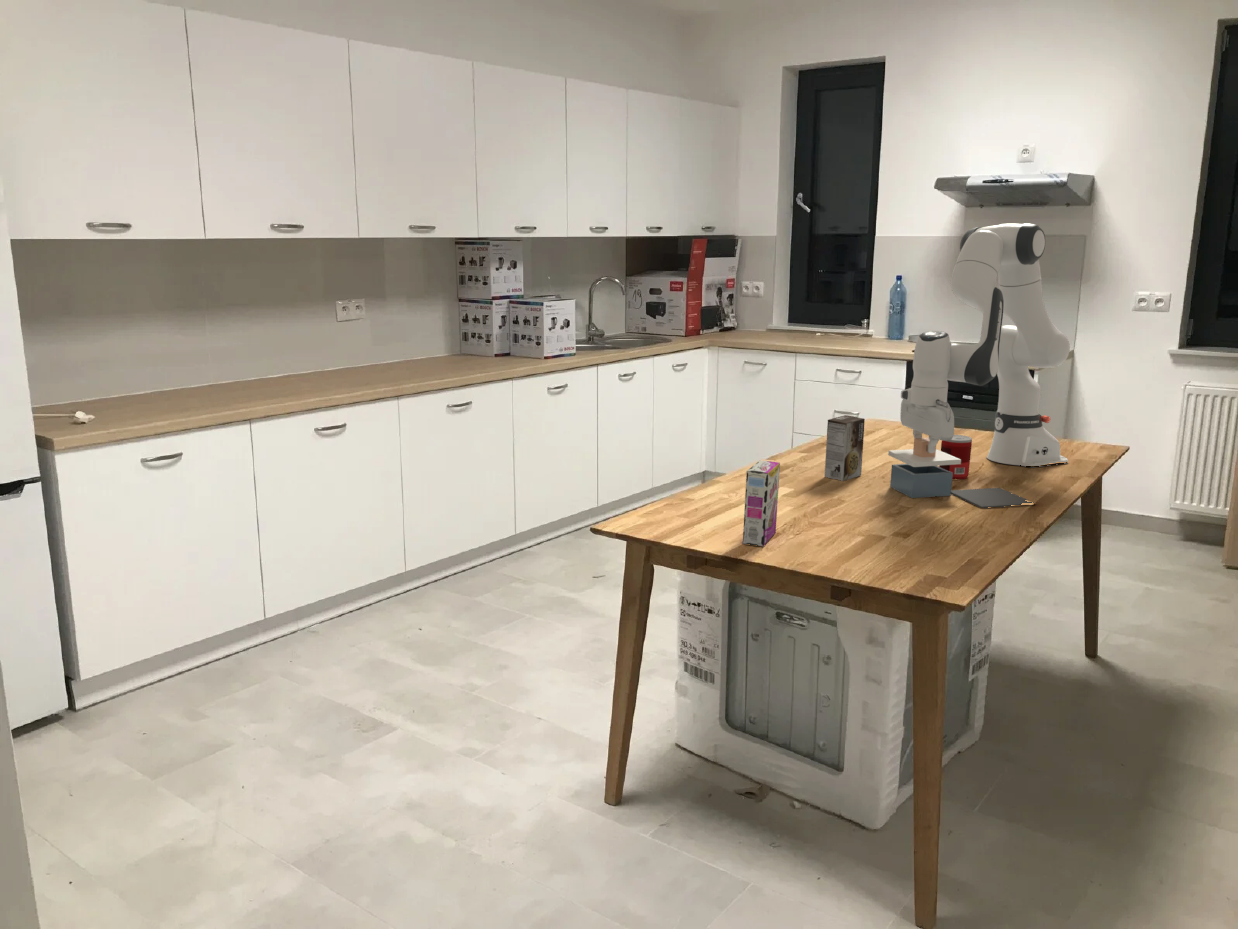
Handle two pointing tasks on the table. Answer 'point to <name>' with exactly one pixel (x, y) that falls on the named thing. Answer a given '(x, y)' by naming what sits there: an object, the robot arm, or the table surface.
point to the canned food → (958, 455)
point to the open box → (921, 480)
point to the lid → (923, 455)
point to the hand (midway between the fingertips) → (924, 449)
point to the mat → (989, 497)
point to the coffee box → (844, 447)
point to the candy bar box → (761, 502)
